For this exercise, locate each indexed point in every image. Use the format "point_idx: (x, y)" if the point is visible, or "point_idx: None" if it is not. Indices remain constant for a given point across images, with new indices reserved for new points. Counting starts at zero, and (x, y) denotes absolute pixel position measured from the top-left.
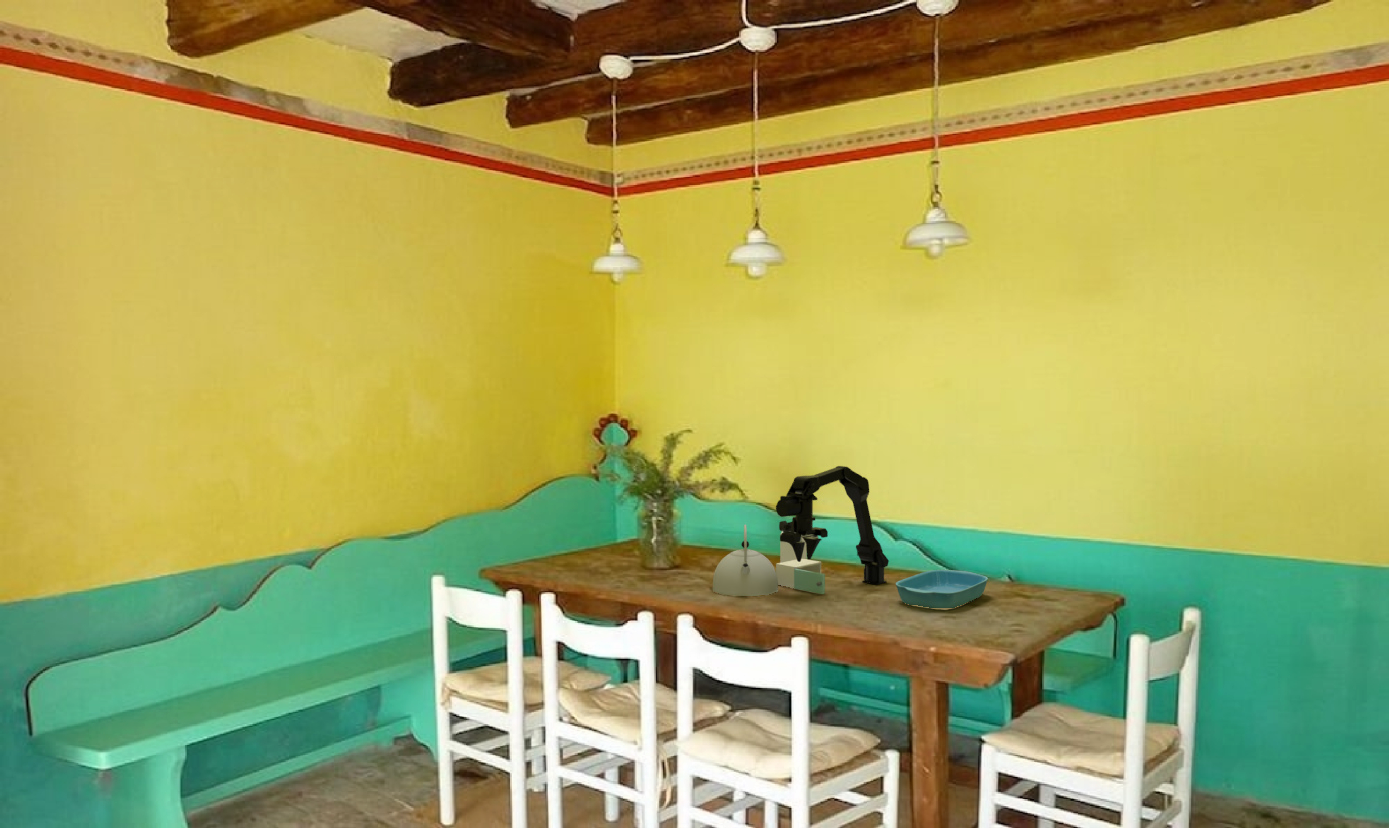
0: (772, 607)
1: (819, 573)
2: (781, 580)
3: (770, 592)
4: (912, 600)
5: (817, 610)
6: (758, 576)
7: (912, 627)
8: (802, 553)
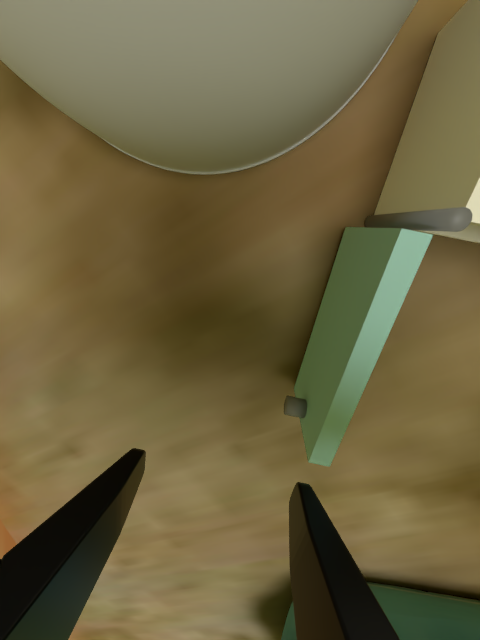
0: (3, 315)
1: (327, 440)
2: (442, 73)
3: (177, 168)
4: (286, 620)
5: (91, 445)
6: (16, 62)
7: (120, 613)
8: (75, 615)
